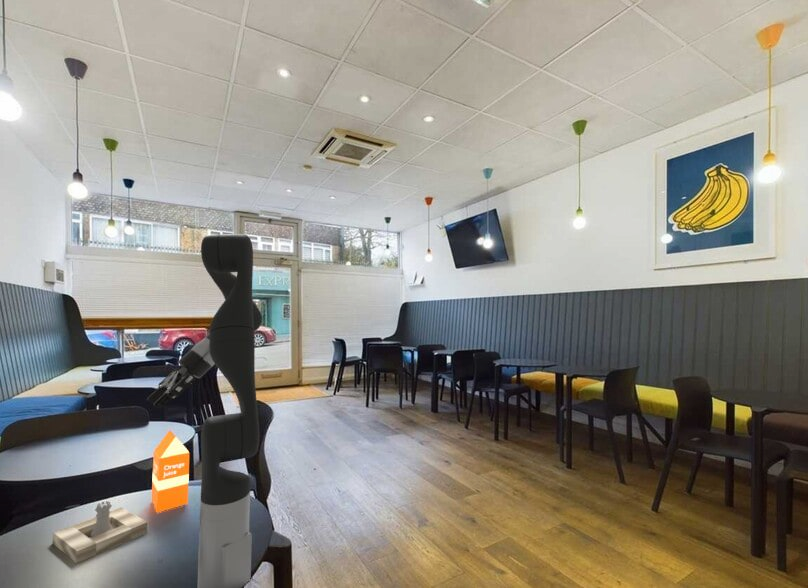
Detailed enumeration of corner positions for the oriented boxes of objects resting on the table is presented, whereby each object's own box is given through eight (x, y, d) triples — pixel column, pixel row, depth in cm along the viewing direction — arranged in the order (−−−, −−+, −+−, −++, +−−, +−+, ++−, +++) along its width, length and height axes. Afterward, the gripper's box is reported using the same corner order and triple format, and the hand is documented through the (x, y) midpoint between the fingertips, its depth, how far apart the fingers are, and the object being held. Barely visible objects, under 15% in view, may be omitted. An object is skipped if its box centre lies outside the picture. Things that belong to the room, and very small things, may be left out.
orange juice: (156, 513, 104) (159, 439, 105) (150, 502, 110) (153, 431, 112) (188, 504, 109) (191, 433, 110) (181, 493, 116) (184, 426, 117)
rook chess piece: (100, 543, 90) (102, 509, 90) (85, 541, 91) (87, 507, 91) (118, 533, 94) (119, 500, 95) (103, 531, 95) (105, 498, 96)
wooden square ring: (146, 532, 95) (147, 522, 95) (76, 563, 83) (76, 551, 83) (120, 517, 102) (121, 507, 102) (52, 543, 90) (53, 532, 90)
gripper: (185, 347, 112) (136, 392, 103) (199, 350, 102) (146, 400, 93) (204, 364, 115) (158, 408, 107) (219, 368, 105) (170, 418, 96)
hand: (152, 404), depth 100 cm, fingers open, 8 cm apart
